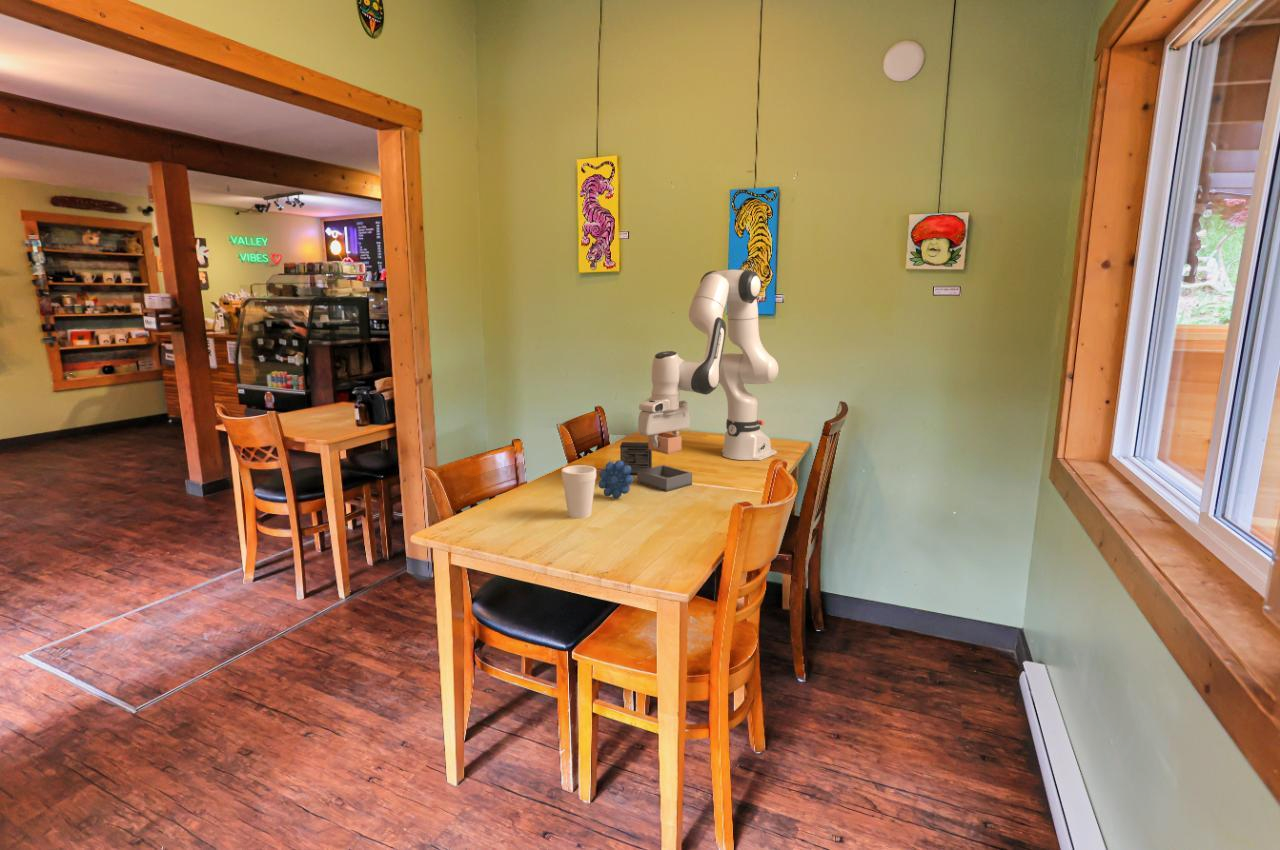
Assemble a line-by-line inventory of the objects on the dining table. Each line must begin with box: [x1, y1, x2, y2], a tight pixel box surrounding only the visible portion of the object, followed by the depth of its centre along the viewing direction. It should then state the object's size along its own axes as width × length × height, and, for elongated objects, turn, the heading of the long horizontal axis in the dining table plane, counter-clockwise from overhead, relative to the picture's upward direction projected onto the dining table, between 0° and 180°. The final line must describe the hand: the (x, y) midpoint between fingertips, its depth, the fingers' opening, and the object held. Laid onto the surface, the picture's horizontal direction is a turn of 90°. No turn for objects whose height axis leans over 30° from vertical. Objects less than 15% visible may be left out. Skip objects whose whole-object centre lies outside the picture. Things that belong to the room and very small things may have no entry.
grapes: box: [598, 459, 635, 499], centre depth 193 cm, size 12×7×12 cm, turn 66°
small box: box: [619, 441, 653, 476], centre depth 220 cm, size 11×6×10 cm, turn 84°
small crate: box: [648, 432, 683, 455], centre depth 206 cm, size 6×9×5 cm, turn 42°
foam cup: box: [561, 464, 597, 519], centre depth 177 cm, size 10×9×13 cm
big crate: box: [636, 464, 693, 493], centre depth 208 cm, size 12×14×4 cm
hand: (664, 445), depth 206 cm, fingers closed on small crate, 6 cm apart
